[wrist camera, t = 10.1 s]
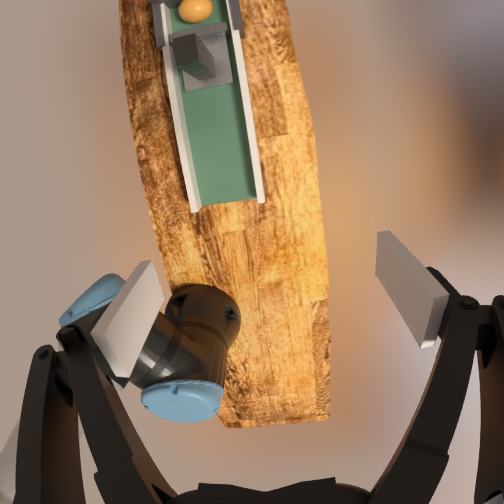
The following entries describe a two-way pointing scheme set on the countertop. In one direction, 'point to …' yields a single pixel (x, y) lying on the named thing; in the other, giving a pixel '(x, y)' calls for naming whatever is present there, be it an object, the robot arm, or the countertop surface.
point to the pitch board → (214, 122)
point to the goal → (174, 1)
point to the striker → (203, 56)
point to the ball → (195, 10)
